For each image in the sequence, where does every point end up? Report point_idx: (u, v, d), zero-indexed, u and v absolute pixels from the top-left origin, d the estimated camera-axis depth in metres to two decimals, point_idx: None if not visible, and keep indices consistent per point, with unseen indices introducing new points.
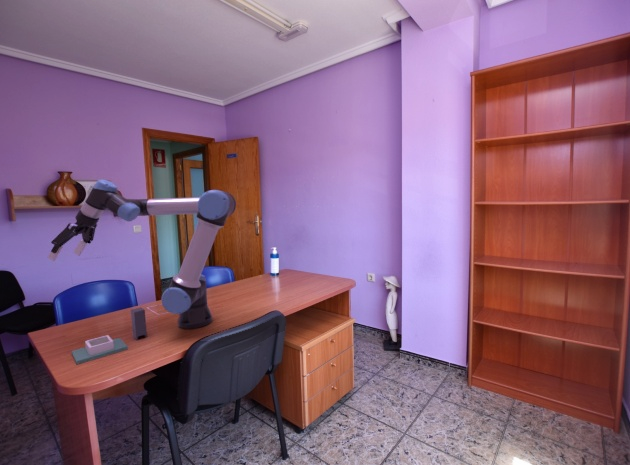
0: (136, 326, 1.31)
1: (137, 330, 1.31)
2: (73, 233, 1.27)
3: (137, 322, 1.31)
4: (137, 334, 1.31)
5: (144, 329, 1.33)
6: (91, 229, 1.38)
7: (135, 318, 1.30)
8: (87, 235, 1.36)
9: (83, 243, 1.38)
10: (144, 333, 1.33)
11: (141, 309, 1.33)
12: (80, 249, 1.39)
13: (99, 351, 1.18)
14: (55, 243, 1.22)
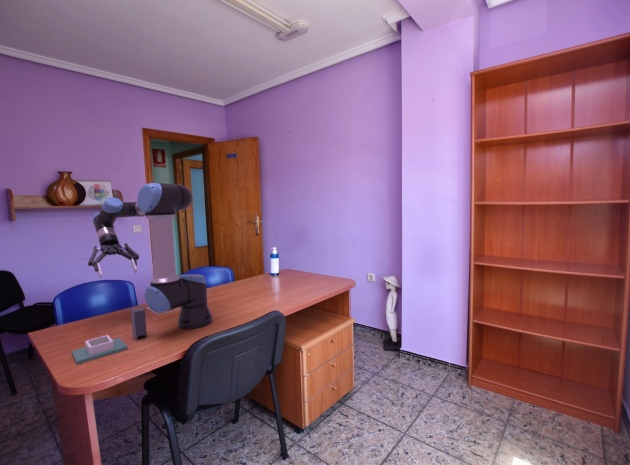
0: (136, 326, 1.31)
1: (137, 330, 1.31)
2: None
3: (137, 322, 1.31)
4: (137, 334, 1.31)
5: (144, 329, 1.33)
6: (126, 249, 1.52)
7: (135, 318, 1.30)
8: (124, 252, 1.50)
9: (131, 260, 1.49)
10: (144, 333, 1.33)
11: (141, 309, 1.33)
12: (133, 265, 1.48)
13: (99, 351, 1.18)
14: None
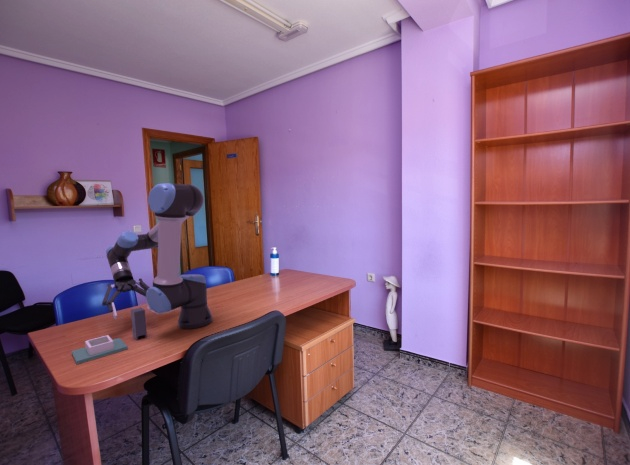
0: (136, 326, 1.31)
1: (137, 330, 1.31)
2: None
3: (137, 322, 1.31)
4: (137, 334, 1.31)
5: (144, 329, 1.33)
6: (141, 284, 1.46)
7: (135, 318, 1.30)
8: (139, 288, 1.43)
9: None
10: (144, 333, 1.33)
11: (141, 309, 1.33)
12: (148, 303, 1.41)
13: (99, 351, 1.18)
14: None
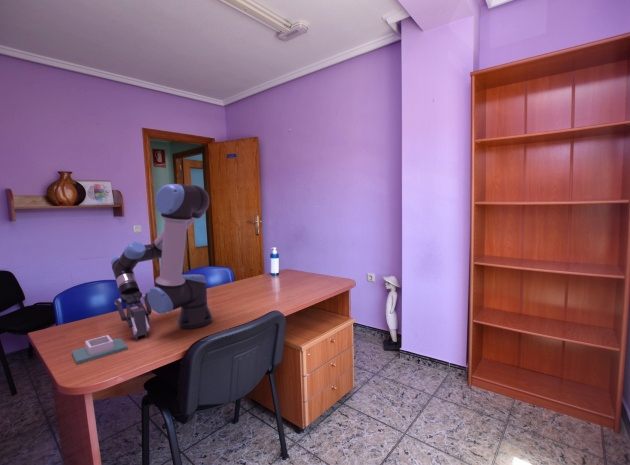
0: (136, 326, 1.31)
1: (137, 330, 1.31)
2: (127, 304, 1.35)
3: (137, 322, 1.31)
4: (137, 334, 1.31)
5: (144, 329, 1.33)
6: (145, 299, 1.41)
7: (135, 318, 1.30)
8: (140, 304, 1.37)
9: None
10: (144, 333, 1.33)
11: (141, 309, 1.33)
12: None
13: (99, 351, 1.18)
14: (122, 317, 1.31)
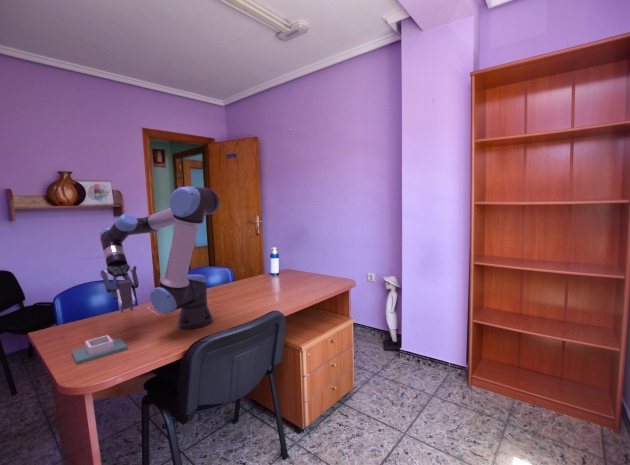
0: (121, 298, 1.27)
1: (122, 302, 1.28)
2: (113, 276, 1.32)
3: (122, 294, 1.27)
4: (122, 306, 1.28)
5: (130, 302, 1.29)
6: (132, 272, 1.37)
7: (120, 290, 1.27)
8: (127, 277, 1.34)
9: None
10: (130, 306, 1.30)
11: (127, 281, 1.30)
12: None
13: (99, 351, 1.18)
14: None
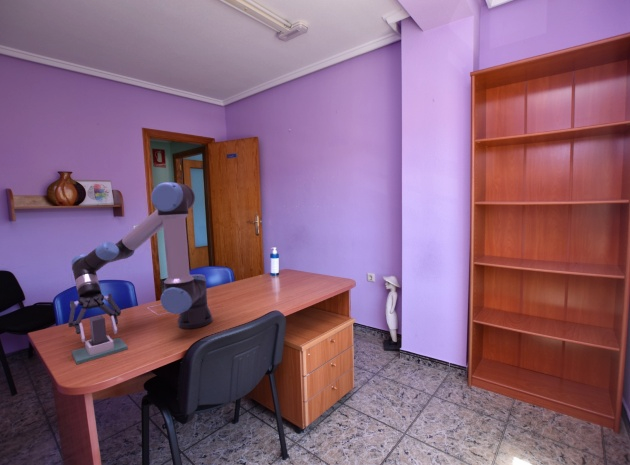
0: (95, 336, 1.18)
1: (96, 341, 1.18)
2: (82, 308, 1.22)
3: (96, 332, 1.18)
4: None
5: (104, 340, 1.20)
6: (109, 301, 1.29)
7: (93, 328, 1.18)
8: (105, 306, 1.26)
9: (111, 318, 1.24)
10: None
11: (101, 317, 1.21)
12: (113, 325, 1.23)
13: (99, 351, 1.18)
14: None
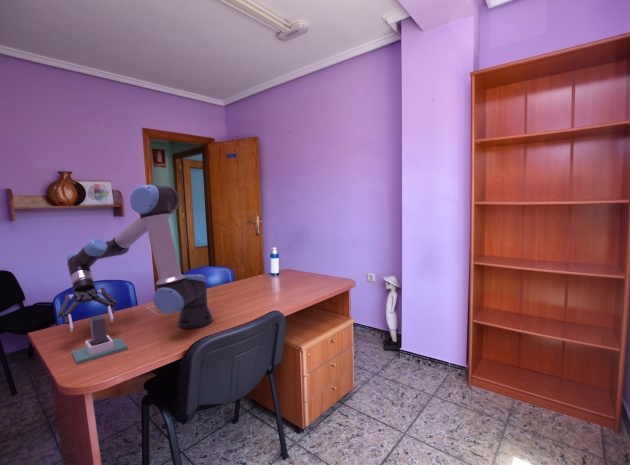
0: (95, 336, 1.18)
1: (96, 341, 1.18)
2: None
3: (96, 332, 1.18)
4: None
5: (104, 340, 1.20)
6: (103, 294, 1.38)
7: (93, 328, 1.18)
8: (100, 298, 1.35)
9: (108, 308, 1.35)
10: None
11: (101, 317, 1.21)
12: (109, 314, 1.34)
13: (99, 351, 1.18)
14: None
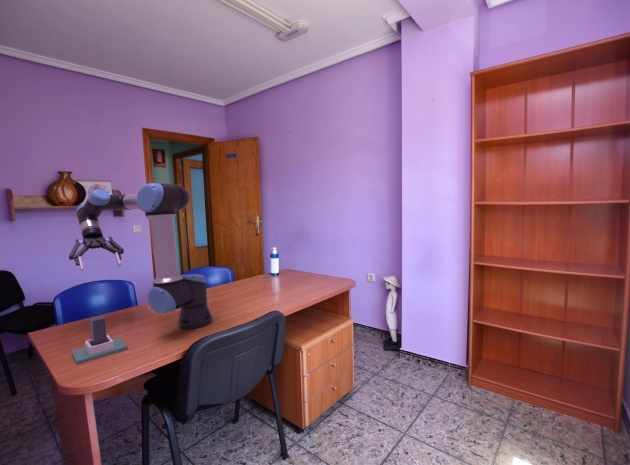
0: (95, 336, 1.18)
1: (96, 341, 1.18)
2: None
3: (96, 332, 1.18)
4: None
5: (104, 340, 1.20)
6: (111, 242, 1.46)
7: (93, 328, 1.18)
8: (108, 246, 1.43)
9: (115, 254, 1.43)
10: None
11: (101, 317, 1.21)
12: (117, 259, 1.41)
13: (99, 351, 1.18)
14: None
